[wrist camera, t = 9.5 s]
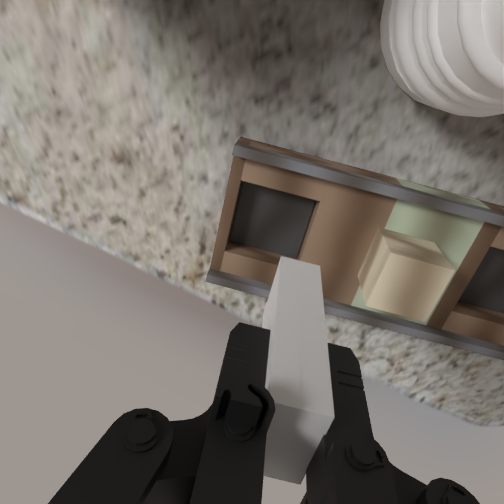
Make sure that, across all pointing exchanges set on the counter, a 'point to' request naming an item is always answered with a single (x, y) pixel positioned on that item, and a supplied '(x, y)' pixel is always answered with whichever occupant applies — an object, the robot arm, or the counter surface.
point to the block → (404, 274)
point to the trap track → (359, 240)
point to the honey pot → (447, 53)
